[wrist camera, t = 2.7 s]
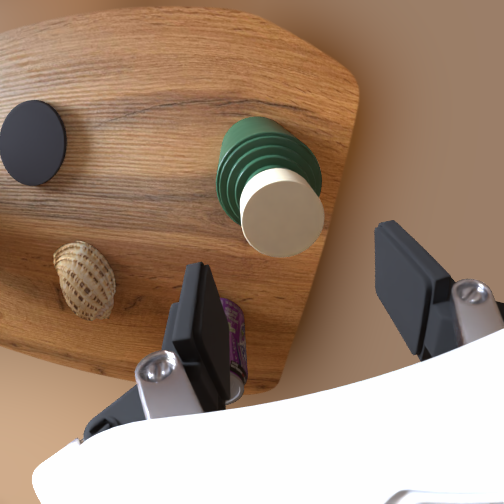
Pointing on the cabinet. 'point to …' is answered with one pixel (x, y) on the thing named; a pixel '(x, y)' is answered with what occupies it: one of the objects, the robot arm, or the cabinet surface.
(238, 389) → the beverage can
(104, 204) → the cabinet surface
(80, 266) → the seashell
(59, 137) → the coaster
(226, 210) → the bottle
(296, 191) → the cap
